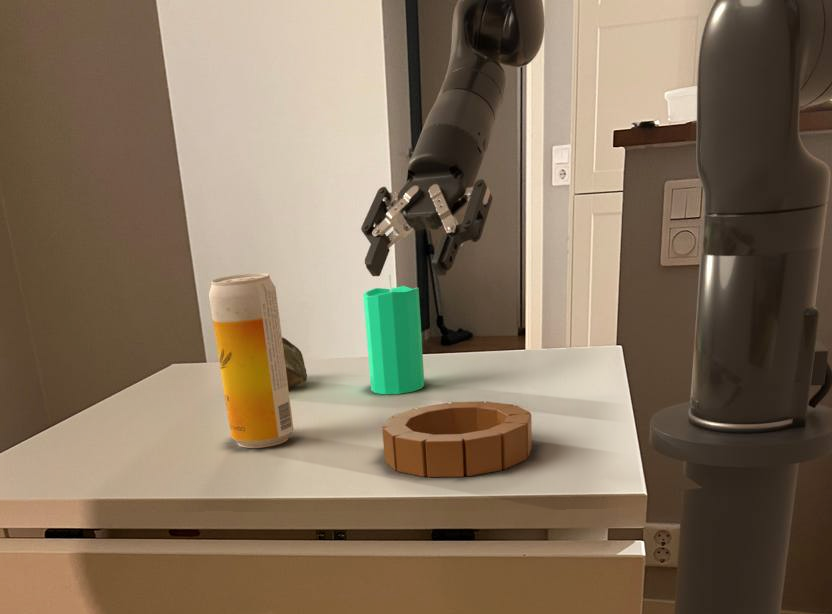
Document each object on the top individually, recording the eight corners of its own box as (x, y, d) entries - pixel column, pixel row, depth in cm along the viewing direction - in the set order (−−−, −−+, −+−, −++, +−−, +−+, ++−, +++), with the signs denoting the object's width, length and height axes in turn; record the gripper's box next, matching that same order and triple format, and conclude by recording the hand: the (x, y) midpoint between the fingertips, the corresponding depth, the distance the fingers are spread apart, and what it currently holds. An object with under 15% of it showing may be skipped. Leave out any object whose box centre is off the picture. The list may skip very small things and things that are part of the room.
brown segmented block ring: (536, 432, 86) (536, 399, 85) (522, 476, 76) (521, 439, 74) (403, 435, 90) (400, 403, 88) (371, 478, 79) (368, 442, 78)
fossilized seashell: (220, 365, 116) (245, 393, 108) (242, 314, 114) (269, 339, 106) (273, 387, 120) (300, 415, 113) (295, 338, 118) (325, 364, 110)
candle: (426, 391, 105) (419, 275, 99) (372, 396, 105) (362, 281, 99) (422, 379, 110) (415, 268, 104) (370, 384, 110) (361, 274, 105)
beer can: (249, 431, 96) (226, 274, 90) (304, 432, 94) (284, 271, 87) (221, 449, 91) (194, 284, 85) (278, 450, 89) (255, 281, 82)
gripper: (383, 127, 108) (335, 250, 105) (497, 114, 100) (447, 246, 97) (412, 175, 114) (366, 293, 111) (520, 166, 106) (474, 292, 103)
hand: (404, 271), depth 104 cm, fingers open, 8 cm apart
